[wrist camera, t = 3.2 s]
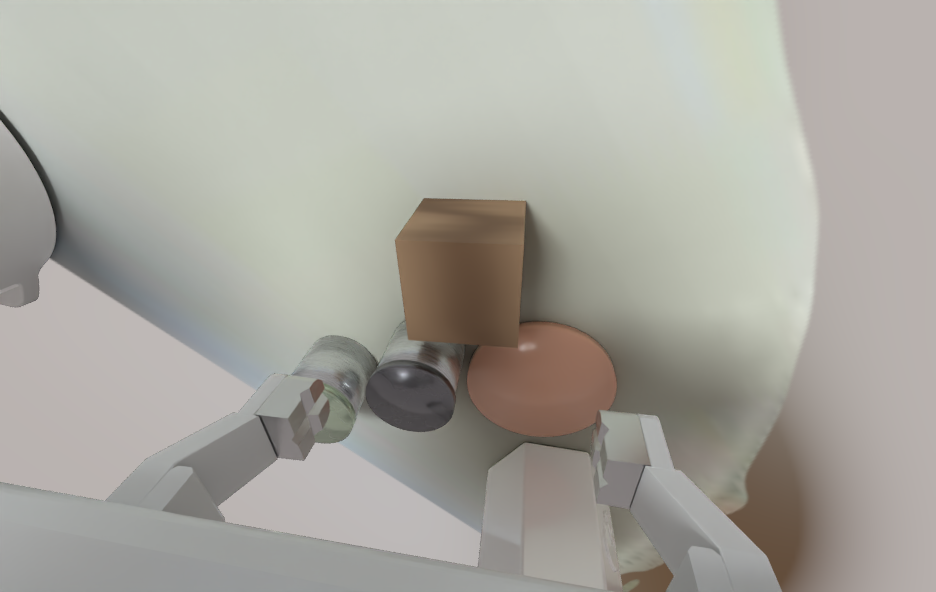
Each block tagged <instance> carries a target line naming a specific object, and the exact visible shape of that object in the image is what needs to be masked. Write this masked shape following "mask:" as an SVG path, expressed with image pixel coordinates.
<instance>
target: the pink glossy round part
mask: <svg viewBox="0 0 936 592" xmlns="http://www.w3.org/2000/svg"><path fill="white" fill-rule="evenodd" d="M467 388H468V392H469V395H470V397H471V400H472V402H473V403H474V405H475V406H476V408H477V409H478V410H479V411H480V412H481V413H482V414H483V415H484V416H485V417H486V418H487V419H489V420H490V421H492V422H493V423H495V424H497V425H498V426H500V427H502V428H504V429H507V430H509V431H512V432H515V433H519V434H523V435H528V436H537V437H554V436H562V435H567V434H571V433H574V432H578V431H580V430H582V429H585V428H587V427H589V426H590V425H592V424H594V423H595V422H596V420H595V418H596V414H597V411H598V410H607V411H608V410H609V409H610V407H611V405H612V403H613V402H614V399H615V396H616V390H617V380H616V376H615V372H614V368H613V364H612V361H611V359H610V357H609V355H608V354H607V352H606V351H605V349H604V348H603V347H602V346H601V345H600V344H599V343H598V342H597V341H596V340H594V339H593V338H592V337H590V336H589V335H587V334H586V333H584V332H582V331H580V330H578V329H576V328H573V327H570V326H567V325H563V324H558V323H552V322H525V323H520V324H519V335H518V348H511V347H497V346H484V345H479V346H478V347H477V349H476V350H475V352H474V354H473V356H472V358H471V361H470V365H469V369H468V374H467Z"/></svg>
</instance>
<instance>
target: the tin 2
mask: <svg viewBox="0 0 936 592" xmlns="http://www.w3.org/2000/svg"><path fill="white" fill-rule="evenodd" d="M464 353H465V345H464V344H456V343H443V342H429V341H415V340H408V335H407V327H406V320H405V321H403V322H402V323H400V325H399V326H398V327H397V328H396V330H395V332H394V334H393V336H392V338H391V340H390V342H389V344H388V346H387V348H386V350H385V352H384V354H383V357H382V359H381V361H380V363H379V365H378V367H377V369H376V370H374V372H373V373H372V375H371V377H370V379H369V381H368V383H367V385H366V390H365V395H366V399H367V402H368V404H369V406H370V408H371V409H372V411H373V412H374V413H375V414H376V415H377V416H378V417H379V418H381V419H382V420H383V421H385V422H387V423H388V424H390V425H392V426H395V427H397V428H400V429H403V430H407V431H414V432H426V431H432V430H435V429H438V428H440V427H442V426H444V425H445V424H446V423H447V422H448V421H449V420H450V419H451V417H452V415H453V411H454V407H455V402H456V395H455V394H456V389H457V385H458V380H459V376H460V371H461V367H462V362H463V358H464Z"/></svg>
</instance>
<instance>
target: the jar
mask: <svg viewBox="0 0 936 592" xmlns="http://www.w3.org/2000/svg"><path fill="white" fill-rule="evenodd" d="M595 471H596V469H595V468H594V467H593V466H592V462H591V457H590V455H589V454H588V453H587V452H583V451H576V450H570V449H564V448H558V447H551V446H545V445H539V444H533V443H527V442H526V443H523V444H522V445H520V446H519V447H518V448H516V449H515V450H514V451H512V452H511V453H510V454H508V455H507V456H506V457H504V458H503V459H502V460H500V461H499V462H498V463H496V464H495V465H494V466H492V467H491V468H490V469H489V470H488V476H487V486H486V495H485V504H484V514H483V523H482V533H481V542H480V552H479V562H478V567H480V568H485V569H491V570H496V571H502V572H508V573H513V574H519V575H524V576H530V577H536V578H541V579H547V580H552V581H558V582H564V583H569V584H575V585H581V586H586V587H592V588H598V589H603V590H609V591H614V592H623V588H622V582H621V576H620V569H619V563H618V557H617V551H616V545H615V539H614V532H613V526H612V520H611V514H610V508H609V505H603V504H597V503H596V498H595V489H594V481H593V479H594V475H595Z"/></svg>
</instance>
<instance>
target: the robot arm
mask: <svg viewBox="0 0 936 592" xmlns="http://www.w3.org/2000/svg"><path fill="white" fill-rule="evenodd" d="M55 241H56V224H55V218H54V214H53V210H52V206H51V203H50V200H49V198H48V195H47V193H46V190H45V188H44V186H43V184H42V181H41V180H40V178H39V176H38V174H37V172H36V170H35V168H34V167H33V165H32V163H31V162H30V160H29V158H28V157H27V155H26V154H25V152H24V151H23V149H22V148H21V146H20V145H19V144H18V142H17V141H16V139H15V138H14V137H13V135H12V134H11V133H10V131H9V130H8V129H7V128H6V127H5V125H4V124H3V123H2V122H1V120H0V304H2V305H6V306H10V307H21V306H23V305H26V304H28V303H31V302H33V301H36V300H37V299H38V297H39V279H38V273H39V271H40V269H41V268H42V266H43V265H44V264H45V263H46V261H47V260H48V259H49V258H50V256H51V255H52V252H53V250H54V246H55ZM324 389H325V387H324V384H323V381H322V380H319V379H314V378H307V377H300V376H292V375H283V374H276V373H274V374H272V375H270V376H269V377H268V378H267V379H266V380H265V382H264V383H263V384H262V385H261V386H260V387H259V389H258V390H257V391H256V392H255V393H254V394H253V396H252V397H251V398H250V399H249V400H248V401H247V403H246V404H245V405H244V406H243V407H242V408H241V410H240V411H239V412H238V413H231V414H229V415H227V416H226V417H224V418H222V419H220V420H218V421H216V422H214V423H212V424H211V425H209V426H207V427H205V428H203V429H201V430H199V431H197V432H196V433H194V434H192V435H190V436H188V437H186V438H184V439H182V440H180V441H179V442H177V443H175V444H173V445H171V446H169V447H167V448H165V449H164V450H162V451H160V452H158V453H156V454H154V455H152V456H150V457H149V458H147V459H145V460H144V461H143V462H142V463H141V464H140V465H139V466H138V467H137V469H135V471H133V473H132V474H131V475H130V476H129V477H128V478H127V479H126V480H125V481H124V482H123V483H122V484H121V485H120V486H119V487H118V488H117V489H116V490H115V491H114V492H113V493H112V494H111V495H110V496H109V497H108V498H107V499H106V500H105V501H103V500H97V499H91V498H86V497H80V496H75V495H69V494H63V493H58V492H52V491H46V490H41V489H36V488H30V487H25V486H19V485H14V484H8V483H3V482H0V592H614V591H609V590H603V589H598V588H592V587H586V586H581V585H575V584H569V583H564V582H558V581H552V580H547V579H541V578H536V577H530V576H524V575H519V574H513V573H508V572H502V571H496V570H491V569H485V568H480V567H474V566H468V565H462V564H457V563H452V562H446V561H440V560H434V559H429V558H424V557H418V556H412V555H406V554H401V553H395V552H390V551H384V550H379V549H373V548H367V547H362V546H355V545H350V544H345V543H339V542H333V541H328V540H322V539H316V538H311V537H305V536H299V535H294V534H288V533H283V532H277V531H271V530H266V529H260V528H255V527H249V526H243V525H238V524H232V523H226V522H225V519H224V516H223V515H222V514H221V512H220V511H219V509H218V507H217V506H219V505H220V504H221V503H222V502H224V501H225V500H226V499H228V498H229V497H230V496H231V495H233V494H234V493H235V492H236V491H238V490H239V489H240V488H241V487H243V486H244V485H245V484H247V483H248V482H249V481H250V480H251V479H253V478H254V477H256V476H257V475H258V474H259V473H261V472H262V471H263V470H264V469H266V468H267V467H268V466H270V465H271V464H272V463H273V462H275V461H276V460H277V458H286V459H294V460H303V461H304V460H305V458H306V457H307V455H308V453H309V452H310V450H311V448H312V446H313V445H314V443H315V436H314V435H315V434H316V433H318V432H319V431H321V430H323V428H324V426H325V424H326V423H327V420H328V417H329V413H330V404H329V400H328V398H327V397H326V396H325V395H324V394H323V393H322V392H323V390H324ZM595 420H596V428H595V429H594V430H593V432H592V438H591V462H592V466H593V467H594V468H595V469H596V471H595V475H594V479H593V481H594V489H595V498H596V503H597V504H603V505H609V506H614V507H620V508H626V509H630V512H631V514H632V515H633V517H634V518H635V519H636V521H637V522H638V524H639V525H640V527H641V528H642V530H643V531H644V533H645V534H646V536H647V537H648V539H649V540H650V541H651V543H652V544H653V546H654V547H655V549H656V550H657V552H658V553H659V555H660V556H661V558H662V559H663V561H664V562H665V563H666V565H667V566H668V568H669V569H670V571H671V572H672V574H673V575H674V577H673V579H672V581H671V583H670V585H669V587H668V588H667V590H666V592H782V590H781V588H780V586H779V583H778V581H777V579H776V577H775V574H774V572H773V570H772V567H771V565H770V563H769V560H768V558H767V556H766V555H765V554H764V553H763V552H762V551H761V550H760V549H759V548H758V547H757V546H756V545H755V544H754V543H753V542H752V541H751V540H750V539H749V538H748V537H747V536H746V535H745V534H744V533H743V532H742V531H741V530H740V529H739V528H738V527H737V526H736V525H735V524H734V523H733V522H732V521H731V520H730V519H729V518H728V517H727V516H726V515H725V514H724V513H723V512H722V511H721V510H720V509H719V508H718V507H717V506H716V505H715V504H714V503H713V502H712V501H711V500H710V499H709V498H708V497H707V496H706V495H705V494H704V493H703V492H702V491H701V490H700V489H699V488H698V487H697V486H696V485H695V484H694V483H693V482H692V481H691V480H690V479H689V478H688V477H687V476H686V475H685V474H684V473H683V472H682V471H681V470H675V468H674V465H673V462H672V459H671V455H670V452H669V449H668V446H667V442H666V439H665V436H664V433H663V430H662V426H661V423H660V420H659V418H658V417H657V416H655V415H645V414H635V413H627V412H617V411H607V410H598V411H597V414H596V418H595Z"/></svg>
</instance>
